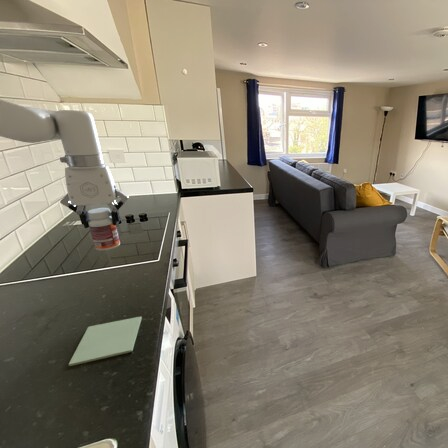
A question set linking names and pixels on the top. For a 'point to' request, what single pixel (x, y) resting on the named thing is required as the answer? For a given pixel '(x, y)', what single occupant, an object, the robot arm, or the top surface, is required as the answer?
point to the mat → (106, 341)
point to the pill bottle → (103, 229)
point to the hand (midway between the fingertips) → (102, 224)
